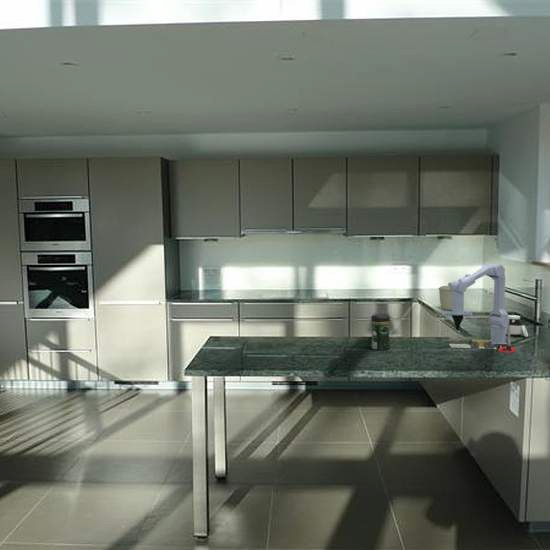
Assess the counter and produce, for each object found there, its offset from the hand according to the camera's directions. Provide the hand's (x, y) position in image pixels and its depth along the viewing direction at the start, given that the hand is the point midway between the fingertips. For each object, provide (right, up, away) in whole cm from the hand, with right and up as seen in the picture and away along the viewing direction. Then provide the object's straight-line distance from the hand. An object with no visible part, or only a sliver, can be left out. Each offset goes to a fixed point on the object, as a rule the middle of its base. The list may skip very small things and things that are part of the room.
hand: (457, 329), depth 298 cm
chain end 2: (+17, -9, +1) cm, 19 cm away
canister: (+38, +2, +134) cm, 140 cm away
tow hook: (+23, -11, -8) cm, 27 cm away
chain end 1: (+10, -9, +3) cm, 14 cm away
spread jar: (+45, -7, +31) cm, 55 cm away
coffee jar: (-41, -11, +1) cm, 42 cm away
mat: (+9, -10, +3) cm, 14 cm away
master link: (+13, -9, +2) cm, 16 cm away
